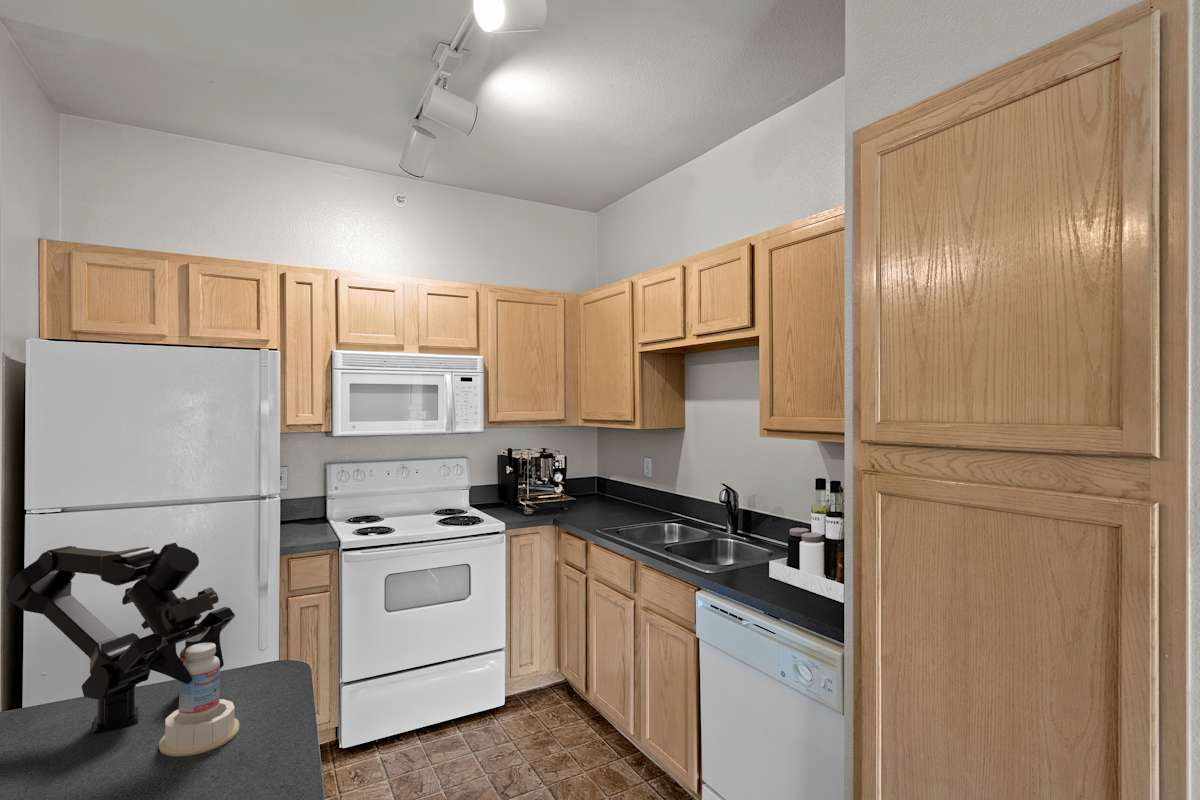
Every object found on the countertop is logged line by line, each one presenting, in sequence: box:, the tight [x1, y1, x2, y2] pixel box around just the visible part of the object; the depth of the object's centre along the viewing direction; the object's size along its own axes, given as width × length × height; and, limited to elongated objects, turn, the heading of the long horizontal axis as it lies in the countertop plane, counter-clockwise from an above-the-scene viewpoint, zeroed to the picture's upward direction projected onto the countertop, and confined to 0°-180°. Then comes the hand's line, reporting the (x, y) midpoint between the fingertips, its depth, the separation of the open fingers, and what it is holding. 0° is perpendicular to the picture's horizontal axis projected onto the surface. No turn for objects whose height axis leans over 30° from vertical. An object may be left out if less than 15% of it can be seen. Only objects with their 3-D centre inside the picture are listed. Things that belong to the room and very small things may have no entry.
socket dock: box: [158, 698, 240, 758], centre depth 109 cm, size 12×12×4 cm
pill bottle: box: [178, 643, 221, 717], centre depth 109 cm, size 6×6×11 cm
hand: (206, 674), depth 109 cm, fingers closed on pill bottle, 6 cm apart
